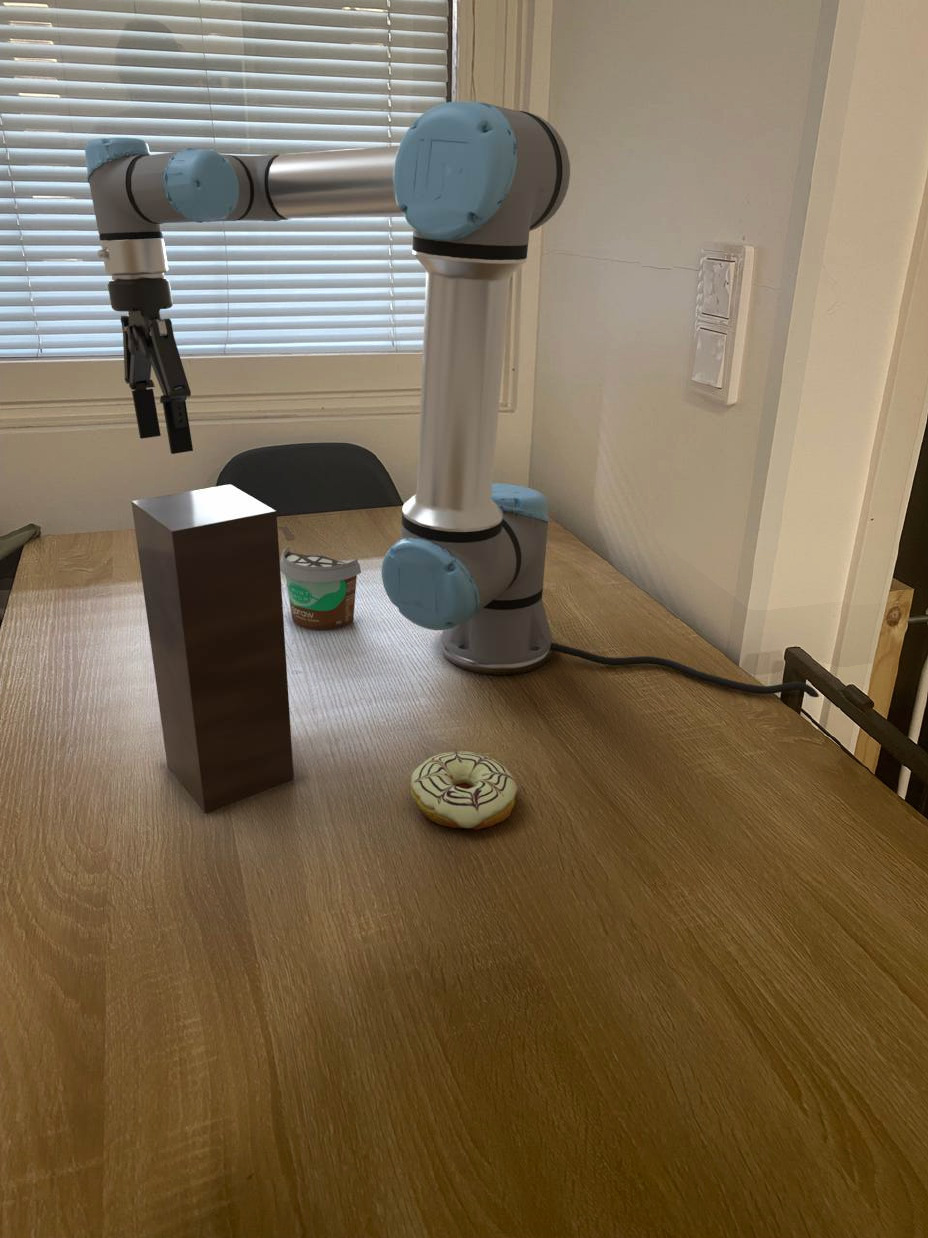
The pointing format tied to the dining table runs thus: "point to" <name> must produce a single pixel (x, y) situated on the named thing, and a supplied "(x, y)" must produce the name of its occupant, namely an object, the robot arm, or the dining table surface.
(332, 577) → the food container
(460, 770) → the decorated donut
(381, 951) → the dining table surface
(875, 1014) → the dining table surface
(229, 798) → the stand
